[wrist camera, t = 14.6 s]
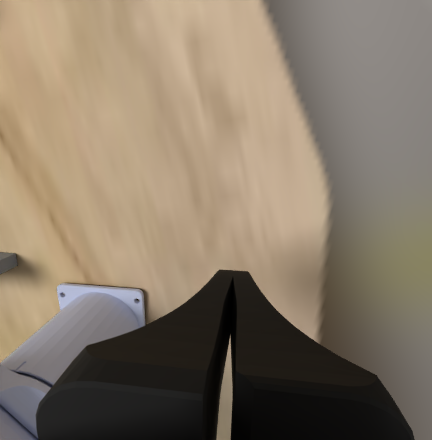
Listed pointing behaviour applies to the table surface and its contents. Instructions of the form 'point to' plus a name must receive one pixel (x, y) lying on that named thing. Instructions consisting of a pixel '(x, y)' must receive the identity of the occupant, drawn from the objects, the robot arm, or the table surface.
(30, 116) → the table surface
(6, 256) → the gray parallel panels
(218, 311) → the robot arm
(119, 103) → the table surface
